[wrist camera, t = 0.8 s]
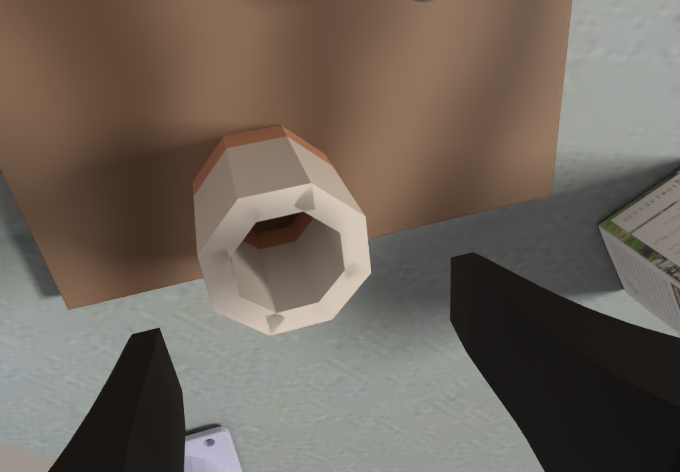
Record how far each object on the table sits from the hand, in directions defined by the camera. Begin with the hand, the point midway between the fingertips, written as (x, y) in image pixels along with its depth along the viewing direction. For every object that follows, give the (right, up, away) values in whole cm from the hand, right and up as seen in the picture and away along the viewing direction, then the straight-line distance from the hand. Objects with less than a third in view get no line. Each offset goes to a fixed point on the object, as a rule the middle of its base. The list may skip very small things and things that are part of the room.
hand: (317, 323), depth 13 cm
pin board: (-1, +8, +6) cm, 10 cm away
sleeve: (-2, +4, +7) cm, 8 cm away
